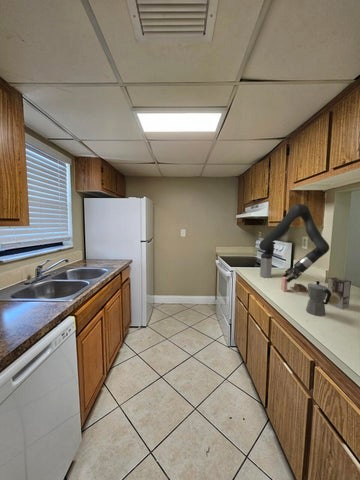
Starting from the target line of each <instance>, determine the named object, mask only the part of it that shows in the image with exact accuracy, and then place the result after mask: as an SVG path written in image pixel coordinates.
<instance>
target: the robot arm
mask: <svg viewBox="0 0 360 480" xmlns="http://www.w3.org/2000/svg"><path fill="white" fill-rule="evenodd" d="M297 218H301V219H302V220H303V222H304V225H305V232H306V234H307V236H308V237H309V240H310V241H311V242H312V243H313V245H315V248H314V249H313V250H311V251H309V252H307V254H306V255H304V256H303V257H302V258H301V257H300V259H299V260H298V261H296V262H295V263H294V264H293V266H294V267H292V266H290V267H288V269H287V270H285V272H284V273H285V274H283V275H282V276H281V278H282V277H286V278H287V280H286V281H287V282H288V283H290V282H291V281H293V280H298V278H299V277H300V276H302V275H303V273H304V272H305V271H307V270H308V269H309V268H311V266H312V265H314V264H315V262H317V261H318V260H319V259H320V258H322V257H323V256H325V254H327V253H328V252H329V250H330V245H329V243H328V242H327V241H326V239H325V238H324V237H323V236H322V234H321V232H320V231H319V229H318V228H317V225H316V223H315V221H314V219H313V217H312V214H311V211H310V209H309V207H308V206H307V205H306V204H300V203H299V204H294V205H293V206H292V207H291V208H290V209H289V210H288V212H287V213H286V214H285V216H284V217H283V218H282V219H281V220H280V222H278V223H277V225H275V227H274V228H273V229H272V230H271V231H270V233H268V235H267V236H265V237H264V238H263V239H262V240H261V241H260V242H259V249H260V250H261V251H264V252H263V253H261V254H260V270H259V271H260V273H259V277H262V278H266V279H267V278H268V279H269V278H272V264H273V256H274V251H275V243H274V242H275V241H276V240H278V239H280V238H283V236H285V235H286V233H288V231H289V230H290V227H291V224H292V223H293V222H294V221H295V220H296V219H297Z"/></svg>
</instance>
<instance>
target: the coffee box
mask: <svg viewBox="0 0 360 480" xmlns="http://www.w3.org/2000/svg"><path fill="white" fill-rule="evenodd" d="M327 283H328V286H327V288H328V290H330V292H331V297H330V299H329V301H328V304H327V305H330V306H332V307H335V308H338V309H339V310H340V309H341V310H346V309H349V308H350V299H351V298H350V297H351V286H352V285H351V284H352V281H351V280H347V279H344V278H343V279H342V278H339V277H331V278H328V282H327Z"/></svg>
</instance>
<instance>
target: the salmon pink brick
mask: <svg viewBox="0 0 360 480" xmlns="http://www.w3.org/2000/svg"><path fill="white" fill-rule="evenodd" d="M287 279H288V277H282V276H281V289H280V290H281V291H282V292H283V293H287V292H288V282H287V281H286V280H287Z"/></svg>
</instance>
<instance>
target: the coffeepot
mask: <svg viewBox="0 0 360 480" xmlns="http://www.w3.org/2000/svg"><path fill="white" fill-rule="evenodd" d="M315 282H316V283H307V290H308V293H307V294H308V297H309V298H308V301H307V305H306V308H305V311H306V312H307V313H308V314H309V315H313V316H316V317H325V316H326V315H327V314H326V307H325V306H327V305H329V304H328V301H329V299H330V297H331V292H330V290H328V286H326V285H322V284H320V281H318V280H316V281H315Z"/></svg>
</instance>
